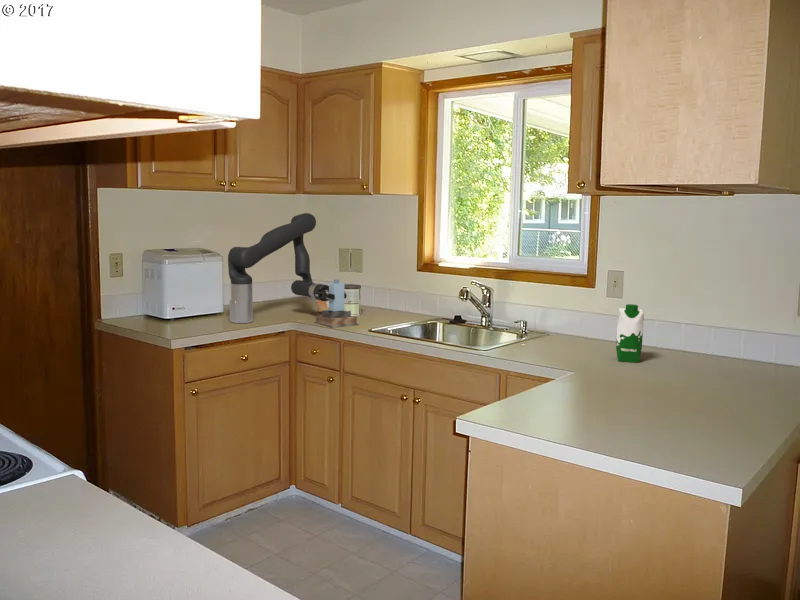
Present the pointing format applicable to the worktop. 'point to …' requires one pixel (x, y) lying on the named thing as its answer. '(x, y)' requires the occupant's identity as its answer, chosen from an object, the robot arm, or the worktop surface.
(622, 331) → the milk carton
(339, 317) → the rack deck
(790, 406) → the worktop surface
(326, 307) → the small box
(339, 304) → the blue rectangular bottle
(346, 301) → the coffee can
